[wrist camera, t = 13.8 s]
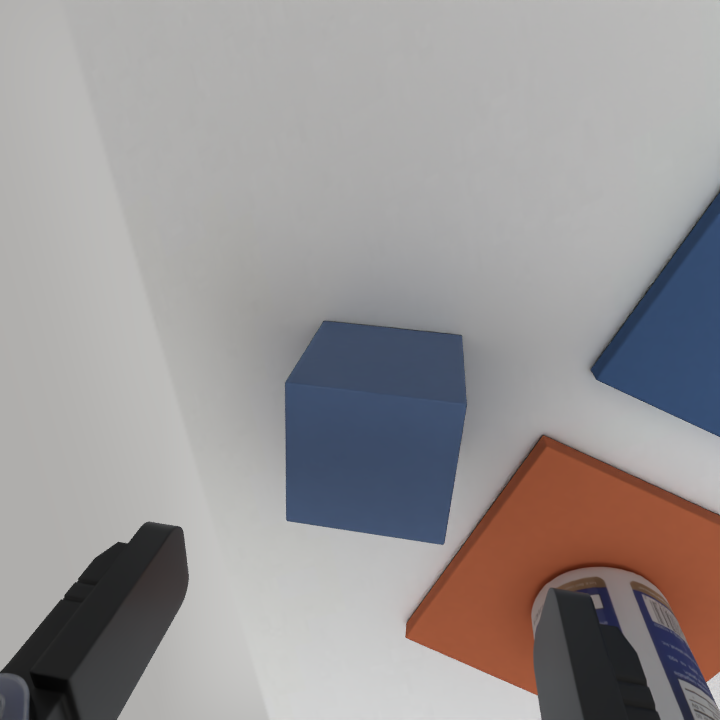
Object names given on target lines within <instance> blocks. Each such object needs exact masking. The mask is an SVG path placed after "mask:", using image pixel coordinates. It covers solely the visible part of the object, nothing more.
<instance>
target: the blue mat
mask: <svg viewBox="0 0 720 720" xmlns="http://www.w3.org/2000/svg"><path fill="white" fill-rule="evenodd" d="M591 371H592V373H593V375H594V376H595V378H596V379H597V380H598V381H600V382H602V383H605V384H607V385H609V386H611V387H613V388H615V389H618V390H620V391H622V392H624V393H626V394H628V395H631V396H633V397H635V398H637V399H639V400H641V401H643V402H646V403H648V404H650V405H652V406H654V407H656V408H659V409H661V410H663V411H665V412H667V413H669V414H671V415H674V416H676V417H678V418H680V419H682V420H684V421H687V422H689V423H691V424H693V425H695V426H697V427H700V428H702V429H704V430H706V431H708V432H710V433H712V434H715V435H717V436H719V437H720V192H719V194H718V195H717V197H716V198H715V199H714V201H713V202H712V203H711V205H710V206H709V208H708V209H707V210H706V212H705V213H704V214H703V216H702V217H701V219H700V220H699V221H698V223H697V224H696V225H695V227H694V228H693V230H692V231H691V232H690V234H689V235H688V237H687V238H686V239H685V241H684V242H683V243H682V245H681V246H680V248H679V249H678V250H677V252H676V253H675V254H674V256H673V257H672V259H671V260H670V261H669V263H668V264H667V265H666V267H665V268H664V270H663V271H662V272H661V274H660V275H659V276H658V278H657V279H656V281H655V282H654V283H653V285H652V286H651V287H650V289H649V290H648V292H647V293H646V294H645V296H644V297H643V298H642V300H641V301H640V303H639V304H638V305H637V307H636V308H635V309H634V311H633V312H632V314H631V315H630V316H629V318H628V319H627V320H626V322H625V323H624V325H623V326H622V327H621V329H620V330H619V332H618V333H617V334H616V336H615V337H614V338H613V340H612V341H611V343H610V344H609V345H608V347H607V348H606V349H605V351H604V352H603V354H602V355H601V356H600V358H599V359H598V360H597V362H596V363H595V365H594V366H593V367H592V369H591Z"/></svg>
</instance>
